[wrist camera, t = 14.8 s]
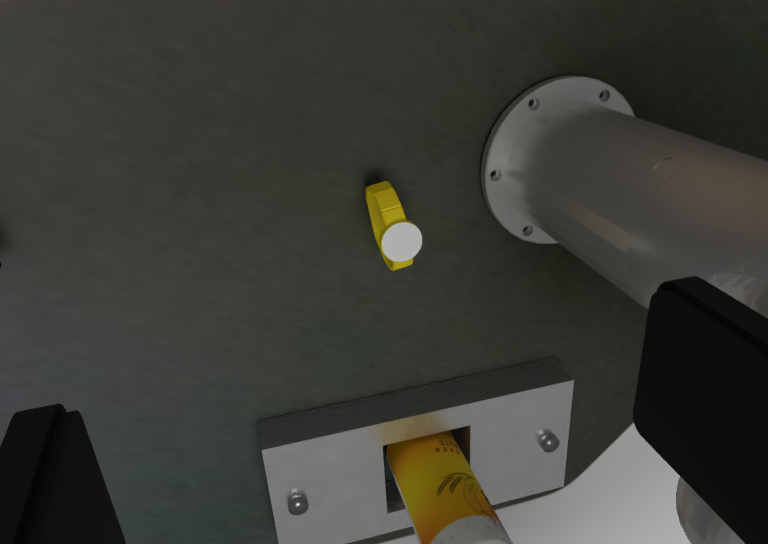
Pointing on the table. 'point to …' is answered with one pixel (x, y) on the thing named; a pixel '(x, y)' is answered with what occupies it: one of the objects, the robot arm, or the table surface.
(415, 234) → the watch
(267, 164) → the table surface
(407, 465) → the beer can
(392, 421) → the gray block with hole
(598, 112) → the robot arm
